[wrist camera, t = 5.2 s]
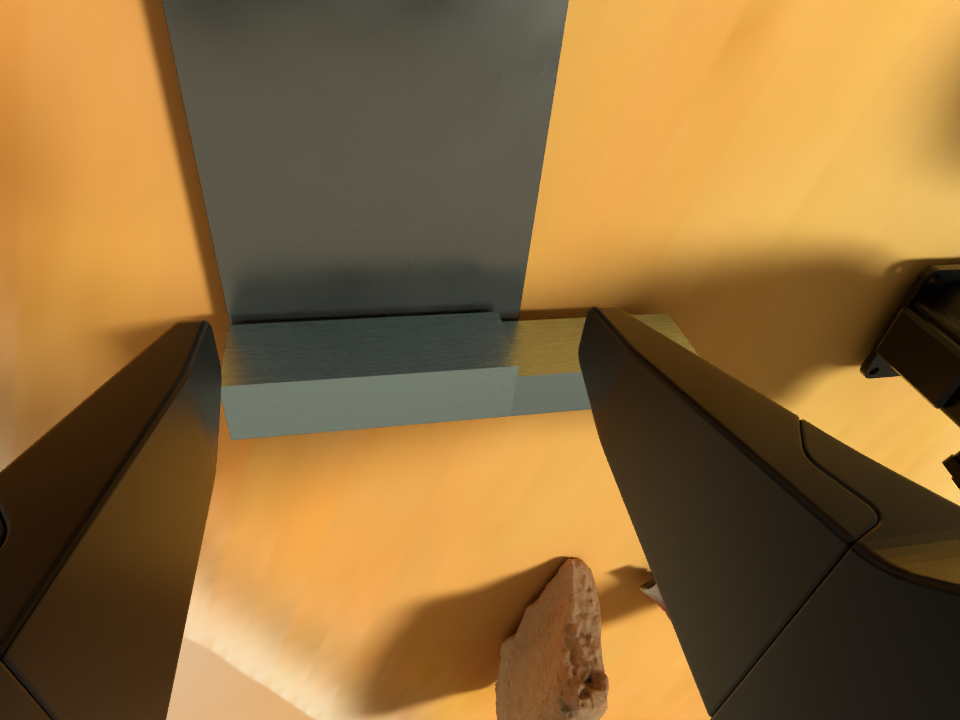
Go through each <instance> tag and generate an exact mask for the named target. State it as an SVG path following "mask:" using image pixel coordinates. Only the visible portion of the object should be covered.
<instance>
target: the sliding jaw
mask: <svg viewBox="0 0 960 720" xmlns="http://www.w3.org/2000/svg"><path fill="white" fill-rule="evenodd" d="M632 316H634V317H635V318H637V319H639V320H640V321H642V322H644V323H645V324H647V325H649V326H650V327H652V328H653V329H655V330H657V331H658V332H660V333H662V334H663V335H665V336H667V337H668V338H670V339H672V340H673V341H675V342H677V343H678V344H680V345H682V346H683V347H685V348H686V349H688V350H690V351H691V352H693V353H695V354H696V355H698V353H697V352H696V351H695V349H694V348H693V346H692V345H691V344H690V342H689V341H688V340H687V338H686V337H685V336H684V334H683V333H682V331H681V330H680V329H679V327H678V326H677V325H676V323H675V322H674V321H673V319H672V318H671V316H670V315H669V314H668V313H658V314H639V315H632ZM585 320H586V317H582V318H563V319H544V320H525V321H507V322H502V321H501V318H500V316H499V313H498V312H484V313H464V314H443V315H423V316H403V317H383V318H362V319H342V320H322V321H302V322H281V323H261V324H241V325H228V331H227V337H226V343H225V349H224V355H223V361H222V368H221V375H222V384H221V400H222V404H223V408H224V412H225V416H226V420H227V424H228V428H229V432H230V436H231V440H239V439H250V438H262V437H274V436H285V435H297V434H308V433H320V432H331V431H343V430H355V429H366V428H378V427H389V426H401V425H412V424H424V423H436V422H447V421H459V420H470V419H482V418H493V417H505V416H517V415H528V414H540V413H551V412H563V411H574V410H586V409H591V406H590V402H589V398H588V395H587V391H586V387H585V383H584V379H583V375H582V372H581V368H580V364H579V358H578V349H579V344H580V340H581V336H582V332H583V328H584V324H585ZM698 356H699V355H698Z"/></svg>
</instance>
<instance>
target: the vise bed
mask: <svg viewBox="0 0 960 720" xmlns="http://www.w3.org/2000/svg"><path fill="white" fill-rule="evenodd" d="M568 1H569V0H162V3H163V8H164V12H165V17H166V22H167V27H168V31H169V36H170V41H171V46H172V50H173V55H174V60H175V65H176V69H177V74H178V79H179V84H180V88H181V93H182V98H183V103H184V107H185V112H186V117H187V122H188V126H189V131H190V136H191V141H192V146H193V150H194V155H195V160H196V165H197V169H198V174H199V179H200V184H201V188H202V193H203V198H204V203H205V207H206V212H207V217H208V222H209V226H210V231H211V236H212V241H213V245H214V250H215V255H216V260H217V264H218V269H219V274H220V279H221V283H222V288H223V293H224V298H225V302H226V307H227V312H228V317H229V321H230V325H241V324H261V323H281V322H302V321H322V320H342V319H362V318H383V317H403V316H423V315H443V314H464V313H484V312H498V313H499V316H500V318H501V321H502V322H507V321H518V319H519V312H520V306H521V300H522V293H523V287H524V280H525V274H526V268H527V261H528V255H529V249H530V242H531V236H532V230H533V223H534V217H535V211H536V204H537V198H538V192H539V185H540V179H541V173H542V166H543V160H544V154H545V147H546V141H547V135H548V128H549V122H550V115H551V109H552V103H553V96H554V90H555V84H556V77H557V71H558V65H559V58H560V52H561V46H562V39H563V33H564V27H565V20H566V14H567V8H568Z"/></svg>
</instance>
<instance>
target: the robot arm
mask: <svg viewBox="0 0 960 720" xmlns="http://www.w3.org/2000/svg"><path fill="white" fill-rule="evenodd" d="M578 358H579V364H580V368H581V372H582V375H583V379H584V383H585V387H586V391H587V395H588V398H589V402H590V406H591V410H592V414H593V417H594V421H595V425H596V429H597V432H598V435H599V439H600V442H601V445H602V447H603V450H604V453H605V455H606V458H607V461H608V463H609V466H610V468H611V471H612V473H613V476H614V478H615V481H616V483H617V486H618V488H619V491H620V493H621V496H622V498H623V501H624V503H625V506H626V508H627V511H628V513H629V516H630V518H631V521H632V524H633V526H634V529H635V531H636V534H637V536H638V539H639V541H640V544H641V546H642V549H643V551H644V554H645V556H646V559H647V561H648V564H649V566H650V569H651V571H652V574H653V576H654V579H655V581H656V584H657V587H658V589H659V592H660V594H661V597H662V599H663V602H664V604H665V607H666V609H667V612H668V614H669V617H670V619H671V622H672V624H673V627H674V629H675V632H676V634H677V637H678V639H679V642H680V644H681V647H682V650H683V652H684V655H685V657H686V660H687V662H688V665H689V667H690V670H691V672H692V675H693V677H694V680H695V682H696V685H697V687H698V690H699V692H700V695H701V697H702V700H703V702H704V705H705V707H706V710H707V713H708V715H709V716H710V717H712V718H711V719H710V720H960V506H959V505H957V504H955V503H953V502H951V501H949V500H947V499H945V498H943V497H942V496H940V495H938V494H936V493H934V492H932V491H930V490H928V489H926V488H925V487H923V486H921V485H919V484H917V483H915V482H913V481H911V480H909V479H907V478H906V477H904V476H902V475H900V474H898V473H896V472H894V471H892V470H891V469H889V468H887V467H885V466H883V465H881V464H880V463H878V462H876V461H874V460H872V459H870V458H868V457H867V456H865V455H863V454H861V453H859V452H858V451H856V450H854V449H852V448H851V447H849V446H847V445H846V444H844V443H842V442H840V441H839V440H837V439H835V438H834V437H832V436H830V435H828V434H827V433H825V432H823V431H822V430H820V429H819V428H817V427H815V426H814V425H812V424H810V423H809V422H807V421H805V420H803V419H802V420H800V421H799V417H798V416H797V415H795V414H794V413H792V412H790V411H789V410H787V409H785V408H784V407H782V406H781V405H779V404H777V403H776V402H774V401H772V400H771V399H769V398H767V397H766V396H764V395H762V394H761V393H759V392H757V391H756V390H754V389H752V388H751V387H749V386H748V385H746V384H744V383H743V382H741V381H739V380H738V379H736V378H734V377H733V376H731V375H729V374H728V373H726V372H724V371H723V370H721V369H719V368H718V367H716V366H715V365H713V364H711V363H710V362H708V361H706V360H705V359H703V358H701V357H700V356H698V355H696V354H695V353H693V352H691V351H690V350H688V349H686V348H685V347H683V346H682V345H680V344H678V343H677V342H675V341H673V340H672V339H670V338H668V337H667V336H665V335H663V334H662V333H660V332H658V331H657V330H655V329H653V328H652V327H650V326H649V325H647V324H645V323H644V322H642V321H640V320H639V319H637V318H635V317H634V316H632V315H630V314H629V313H627V312H625V311H624V310H622V309H620V308H619V307H617V306H594V307H592V308H591V309H589V311H588V313H587V316H586V320H585V324H584V328H583V332H582V336H581V340H580V344H579V349H578ZM860 372H861V373H862V374H863V375H864V376H865V377H866V378H869V379H870V378H882V377H894V376H901V377H902V378H904V379H905V380H906V381H907V382H908V383H909V384H910V385H911V386H912V387H913V388H914V389H915V390H916V391H917V392H919V393H920V394H921V395H922V396H923V397H924V398H925V399H926V400H927V401H928V402H929V403H930V404H931V405H932V406H934V407H935V408H937V409H940V410H941V411H942V412H943V413H944V414H946V415H947V416H948V417H949V418H950V419H951V420H952V421H953V422H954V423H955V424H956V425H957V426H958V427H960V264H955V265H933V266H929V267H927V268H925V269H924V270H923V271H922V272H921V273H920V274H919V275H918V277H917V279H916V280H915V282H914V283H913V285H912V287H911V288H910V290H909V291H908V293H907V294H906V296H905V298H904V299H903V301H902V302H901V304H900V306H899V307H898V309H897V310H896V312H895V313H894V315H893V317H892V318H891V320H890V321H889V323H888V325H887V326H886V328H885V329H884V331H883V332H882V334H881V336H880V337H879V339H878V340H877V342H876V344H875V345H874V347H873V348H872V350H871V352H870V353H869V355H868V356H867V358H866V359H865V361H864V363H863V364H862V366H861V368H860ZM221 384H222V375H221V366H220V361H219V357H218V353H217V348H216V344H215V339H214V335H213V331H212V327H211V325H210V324H209V323H208V322H207V321H181V322H177V323H175V324H174V325H172V326H171V327H170V328H169V329H168V330H167V331H165V332H164V333H163V334H162V335H161V336H160V337H158V338H157V339H156V340H155V341H154V342H152V343H151V344H150V345H149V346H148V347H147V348H145V349H144V350H143V351H142V352H141V353H140V354H138V355H137V356H136V357H135V358H134V359H132V360H131V361H130V362H129V363H128V364H127V365H125V366H124V367H123V368H122V369H121V370H120V371H118V372H117V373H116V374H115V375H114V376H113V377H111V378H110V379H109V380H108V381H107V382H105V383H104V384H103V385H102V386H101V387H100V388H98V389H97V390H96V391H95V392H94V393H93V394H91V395H90V396H89V397H88V398H87V399H86V400H84V401H83V402H82V403H81V404H80V405H78V406H77V407H76V408H75V409H74V410H73V411H71V412H70V413H69V414H68V415H67V416H66V417H64V418H63V419H62V420H61V421H60V422H58V423H57V424H56V425H55V426H54V427H53V428H51V429H50V430H49V431H48V432H47V433H46V434H44V435H43V436H42V437H41V438H40V439H39V440H37V441H36V442H35V443H34V444H33V445H31V446H30V447H29V448H28V449H27V450H26V451H24V452H23V453H22V454H21V455H20V456H19V457H17V458H16V459H15V460H14V461H13V462H12V463H10V464H9V465H8V466H7V467H6V468H4V469H3V470H2V471H1V472H0V720H166V717H167V712H168V707H169V702H170V698H171V693H172V687H173V683H174V678H175V673H176V668H177V663H178V658H179V653H180V648H181V643H182V639H183V634H184V629H185V624H186V619H187V614H188V609H189V604H190V599H191V594H192V589H193V584H194V579H195V574H196V570H197V565H198V560H199V555H200V550H201V545H202V540H203V535H204V530H205V525H206V520H207V515H208V510H209V506H210V501H211V496H212V491H213V485H214V479H215V473H216V462H217V449H218V433H219V417H220V400H221ZM942 463H943V465H944V466H945V467H946V469H947V470H948V471H949V473H950V474H951V475H952V480H953V481H954V483H955V484H956V485H957V487H958V488H959V489H960V451H959V452H958V453H956V454H955V455H953V454H952V455H950V456H949V457H948V458H947V459H945V460H944V461H943V462H942Z"/></svg>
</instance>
